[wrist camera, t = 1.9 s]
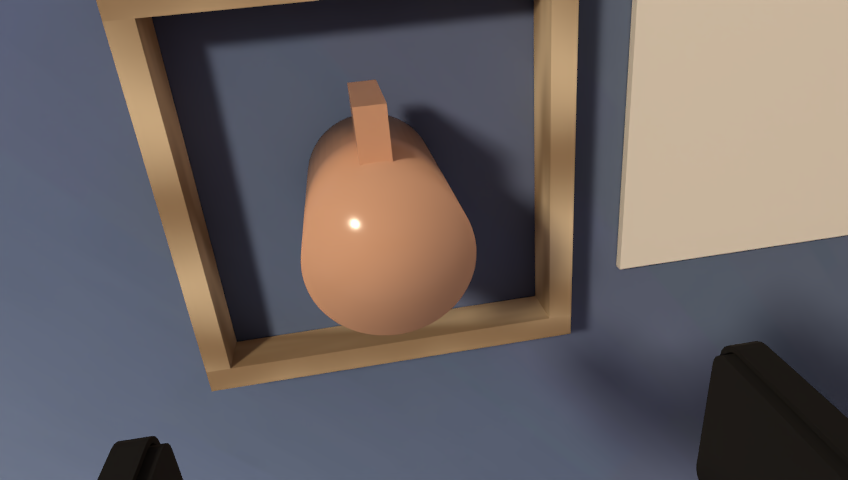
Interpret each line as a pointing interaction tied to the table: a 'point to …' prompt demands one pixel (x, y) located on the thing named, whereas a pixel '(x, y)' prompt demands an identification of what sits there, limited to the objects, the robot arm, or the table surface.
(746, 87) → the off-white pad
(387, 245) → the terracotta jug
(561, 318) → the oak frame
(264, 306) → the table surface
